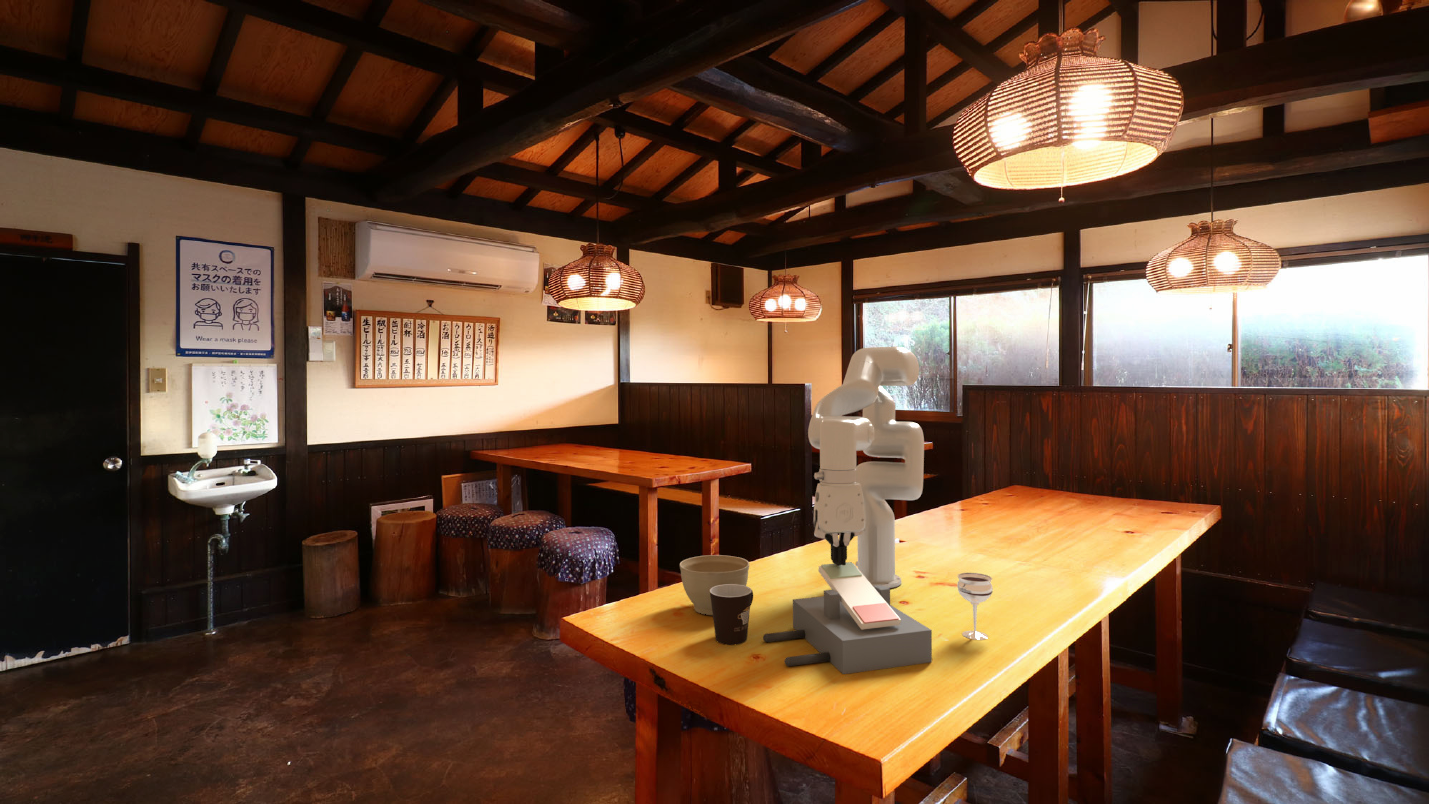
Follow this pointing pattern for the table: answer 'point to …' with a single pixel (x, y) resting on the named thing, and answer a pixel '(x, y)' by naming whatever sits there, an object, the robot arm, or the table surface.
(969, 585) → the wineglass
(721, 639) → the coffee mug
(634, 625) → the table surface
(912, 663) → the box
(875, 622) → the breaker paddle
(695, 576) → the planter bowl
